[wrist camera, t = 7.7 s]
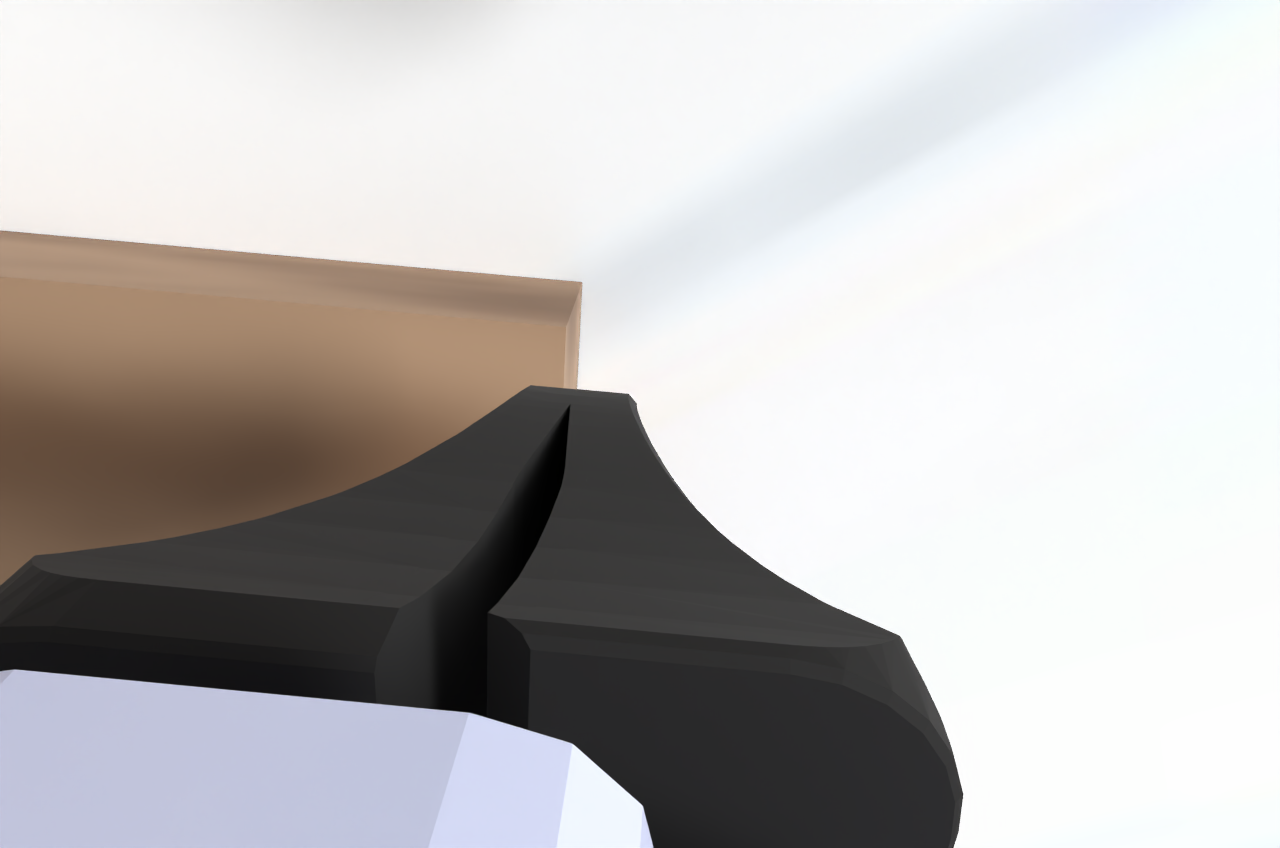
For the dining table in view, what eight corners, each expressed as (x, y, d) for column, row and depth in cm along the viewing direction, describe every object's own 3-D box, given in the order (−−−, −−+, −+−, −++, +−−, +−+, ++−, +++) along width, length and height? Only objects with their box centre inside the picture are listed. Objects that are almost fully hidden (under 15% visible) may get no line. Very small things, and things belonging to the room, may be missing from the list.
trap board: (557, 788, 29) (542, 873, 26) (-219, 713, 29) (-313, 790, 26) (582, 282, 22) (565, 326, 19) (-442, 191, 22) (-603, 222, 19)
